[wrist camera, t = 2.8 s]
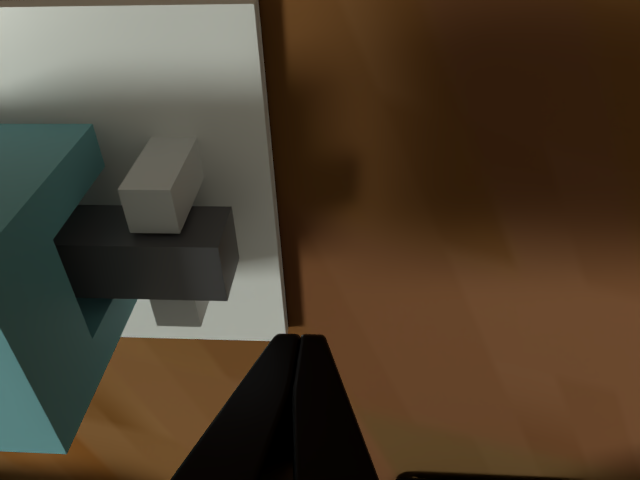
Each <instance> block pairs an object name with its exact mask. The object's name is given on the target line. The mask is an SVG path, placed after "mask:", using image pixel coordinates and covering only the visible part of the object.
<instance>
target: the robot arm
mask: <svg viewBox="0 0 640 480" xmlns="http://www.w3.org/2000/svg"><path fill="white" fill-rule="evenodd" d="M171 480H379V478H378V476H377V473H376V470H375V468H374V465H373V462H372V460H371V457H370V454H369V452H368V449H367V446H366V444H365V441H364V438H363V436H362V433H361V430H360V428H359V425H358V422H357V420H356V417H355V414H354V412H353V409H352V406H351V404H350V401H349V398H348V396H347V393H346V391H345V388H344V385H343V383H342V380H341V377H340V375H339V372H338V369H337V367H336V364H335V361H334V359H333V356H332V353H331V351H330V348H329V345H328V343H327V340H326V338H325V336H323V335H316V334H303V335H302V336H301V338H300V336H299V335H298V334H277V335H275V336H274V337H273V339H272V340H271V342H270V343H269V344H268V346H267V347H266V348H265V350H264V351H263V353H262V354H261V355H260V357H259V358H258V359H257V361H256V362H255V364H254V365H253V366H252V368H251V369H250V370H249V372H248V373H247V375H246V376H245V377H244V379H243V380H242V382H241V383H240V384H239V386H238V387H237V388H236V390H235V391H234V393H233V394H232V395H231V397H230V398H229V399H228V401H227V402H226V404H225V405H224V406H223V408H222V409H221V411H220V412H219V413H218V415H217V416H216V417H215V419H214V420H213V422H212V423H211V424H210V426H209V427H208V428H207V430H206V431H205V433H204V434H203V435H202V437H201V438H200V439H199V441H198V442H197V444H196V445H195V446H194V448H193V449H192V451H191V452H190V453H189V455H188V456H187V457H186V459H185V460H184V462H183V463H182V464H181V466H180V467H179V468H178V470H177V471H176V473H175V474H174V475H173V477H172V478H171ZM396 480H440V479H418V478H400V479H396Z"/></svg>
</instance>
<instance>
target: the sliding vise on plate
mask: <svg viewBox="0 0 640 480" xmlns="http://www.w3.org/2000/svg"><path fill="white" fill-rule="evenodd" d="M0 124H93V127H94V130H95V134H96V137H97V140H98V144H99V147H100V150H101V154H102V157H103V161H104V164H105V167H104V169H103V170H102V172H101V173H100V174H99V176H98V177H97V179H96V180H95V181H94V183H93V184H92V186H91V187H90V188H89V190H88V191H87V193H86V194H85V195H84V197H83V198H82V200H81V201H80V202H79V204H78V205H77V207H76V208H75V209H74V211H73V212H72V214H71V215H70V217H69V218H68V219H67V221H66V222H65V224H64V225H63V226H62V228H61V229H60V231H59V232H58V233H57V235H56V236H55V238H54V239H53V241H54V244H55V246H56V249H57V251H58V254H59V256H60V259H61V261H62V264H63V267H64V269H65V272H66V274H67V277H68V279H69V282H70V284H71V287H72V289H73V292H74V294H75V297H76V298H107V299H138V300H137V302H136V304H135V306H134V308H133V311H132V313H131V315H130V317H129V319H128V321H127V324H126V326H125V328H124V330H123V332H122V335H121V337H143V338H179V339H216V340H252V341H271V340H272V339H273V337H274V336H275V335H277V334H288V319H287V308H286V297H285V286H284V275H283V264H282V253H281V242H280V232H279V221H278V210H277V199H276V188H275V177H274V166H273V155H272V144H271V133H270V122H269V111H268V100H267V89H266V78H265V67H264V56H263V45H262V34H261V23H260V12H259V1H258V0H0Z"/></svg>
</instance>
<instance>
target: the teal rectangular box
mask: <svg viewBox="0 0 640 480" xmlns="http://www.w3.org/2000/svg"><path fill="white" fill-rule="evenodd" d="M104 167H105V164H104V161H103V157H102V154H101V150H100V147H99V144H98V140H97V137H96V134H95V130H94V127H93V124H0V451H7V452H31V453H54V454H67V452H68V450H69V448H70V446H71V444H72V442H73V439H74V437H75V435H76V433H77V431H78V428H79V426H80V424H81V422H82V420H83V418H84V415H85V413H86V411H87V409H88V407H89V404H90V402H91V400H92V398H93V396H94V394H95V391H96V389H97V387H98V385H99V383H100V380H101V378H102V376H103V374H104V372H105V370H106V367H107V365H108V363H109V361H110V359H111V356H112V354H113V352H114V350H115V348H116V346H117V343H118V341H119V339H120V337H121V335H122V332H123V330H124V328H125V326H126V324H127V321H128V319H129V317H130V315H131V313H132V311H133V308H134V306H135V304H136V302H137V300H138V299H107V298H76V297H75V294H74V292H73V289H72V287H71V284H70V282H69V279H68V277H67V274H66V272H65V269H64V267H63V264H62V261H61V259H60V256H59V254H58V251H57V249H56V246H55V244H54V241H53V239H54V238H55V236H56V235H57V233H58V232H59V231H60V229H61V228H62V226H63V225H64V224H65V222H66V221H67V219H68V218H69V217H70V215H71V214H72V212H73V211H74V209H75V208H76V207H77V205H78V204H79V202H80V201H81V200H82V198H83V197H84V195H85V194H86V193H87V191H88V190H89V188H90V187H91V186H92V184H93V183H94V181H95V180H96V179H97V177H98V176H99V174H100V173H101V172H102V170H103V169H104Z"/></svg>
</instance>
